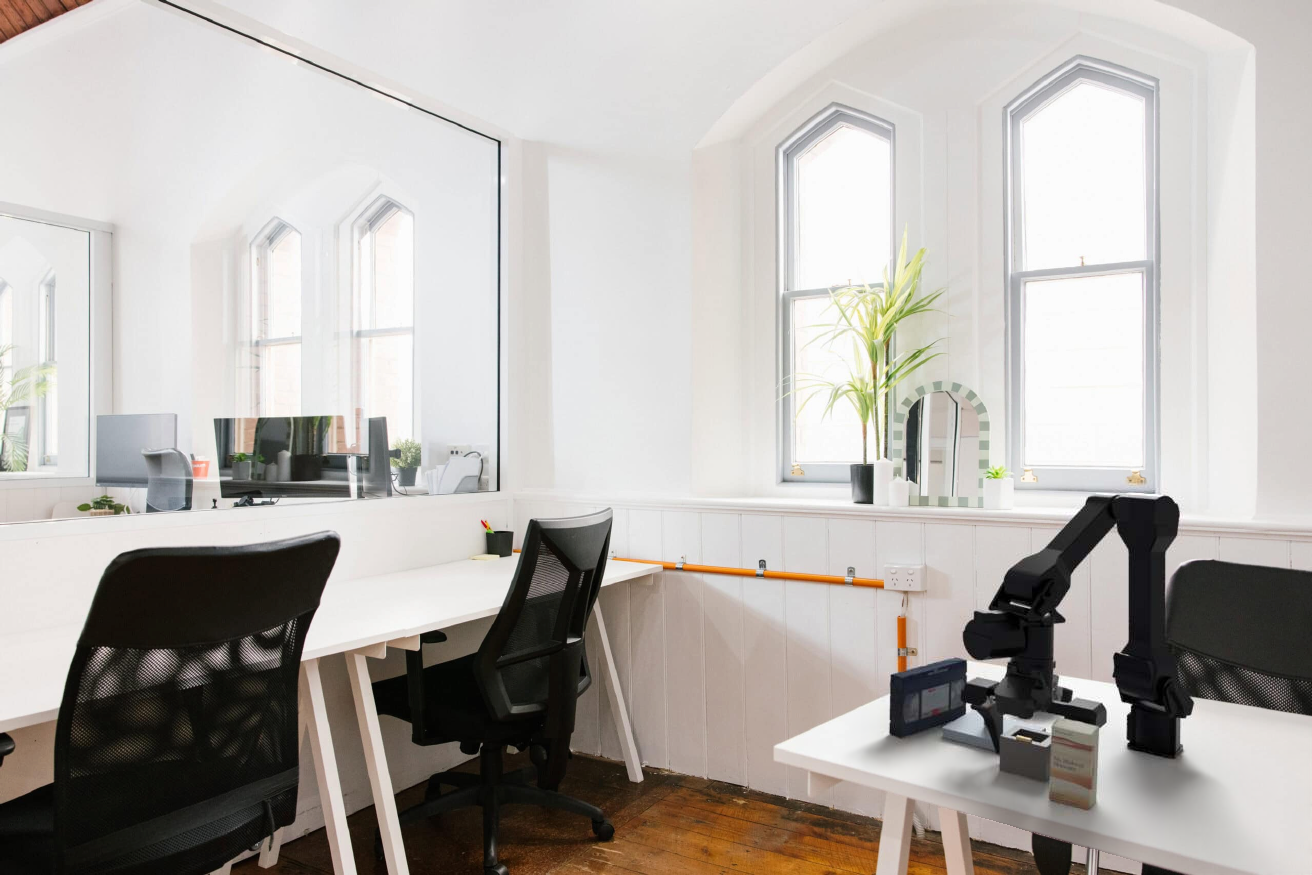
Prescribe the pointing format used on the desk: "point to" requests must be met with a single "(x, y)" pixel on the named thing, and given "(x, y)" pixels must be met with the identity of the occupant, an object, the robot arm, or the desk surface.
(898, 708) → the vhs cassette tape
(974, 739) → the square peg stand
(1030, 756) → the open cubby box
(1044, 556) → the robot arm
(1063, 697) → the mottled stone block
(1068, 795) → the skincare box
